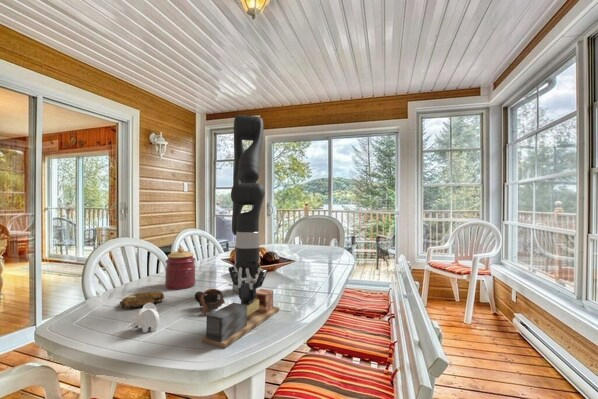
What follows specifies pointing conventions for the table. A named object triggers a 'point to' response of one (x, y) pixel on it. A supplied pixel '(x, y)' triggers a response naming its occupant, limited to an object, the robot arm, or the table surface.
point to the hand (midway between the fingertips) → (247, 299)
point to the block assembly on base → (237, 320)
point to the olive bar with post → (251, 305)
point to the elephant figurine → (146, 318)
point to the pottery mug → (209, 299)
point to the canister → (180, 270)
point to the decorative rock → (141, 299)
